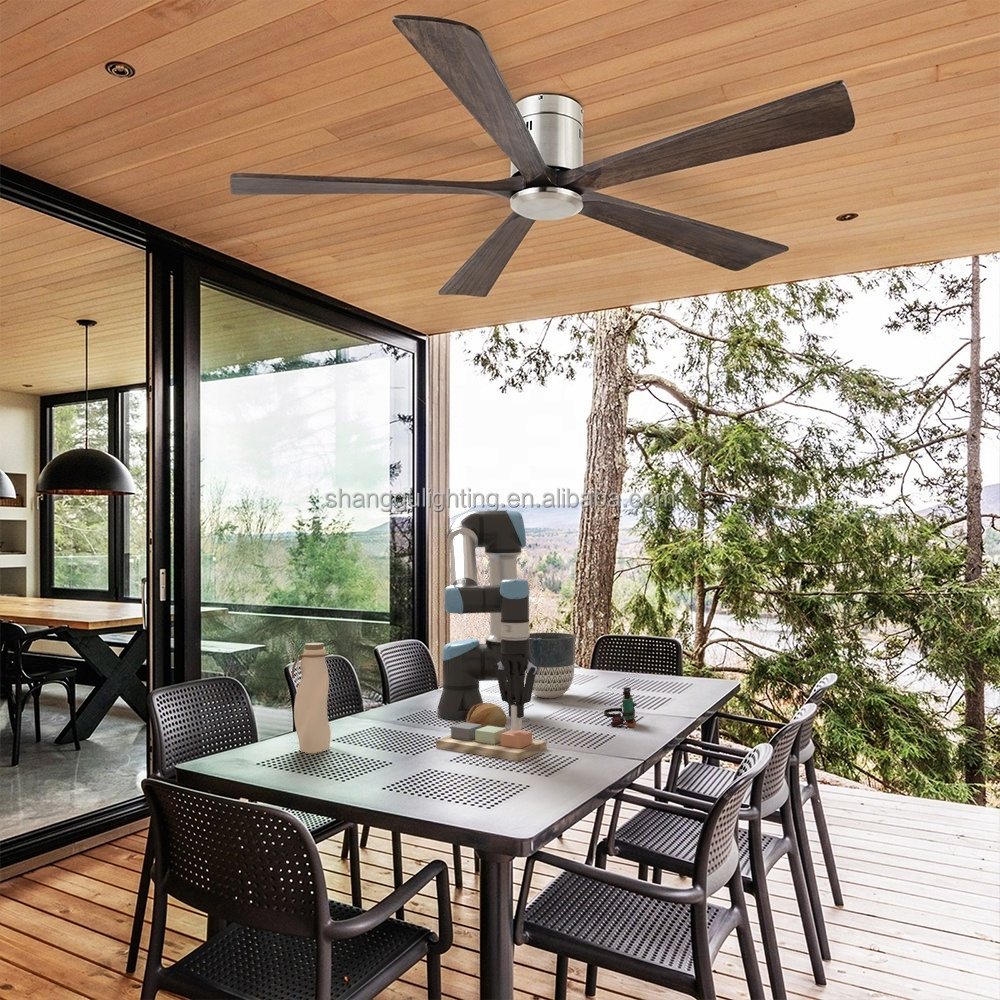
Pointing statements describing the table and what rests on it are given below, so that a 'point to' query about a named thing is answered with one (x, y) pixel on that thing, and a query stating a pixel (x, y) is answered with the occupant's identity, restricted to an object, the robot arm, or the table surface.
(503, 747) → the board
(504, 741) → the terracotta tile
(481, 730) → the sage tile
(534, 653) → the planter
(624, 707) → the binoculars
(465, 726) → the charcoal tile
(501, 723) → the bread roll
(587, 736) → the table surface
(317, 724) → the water bottle
